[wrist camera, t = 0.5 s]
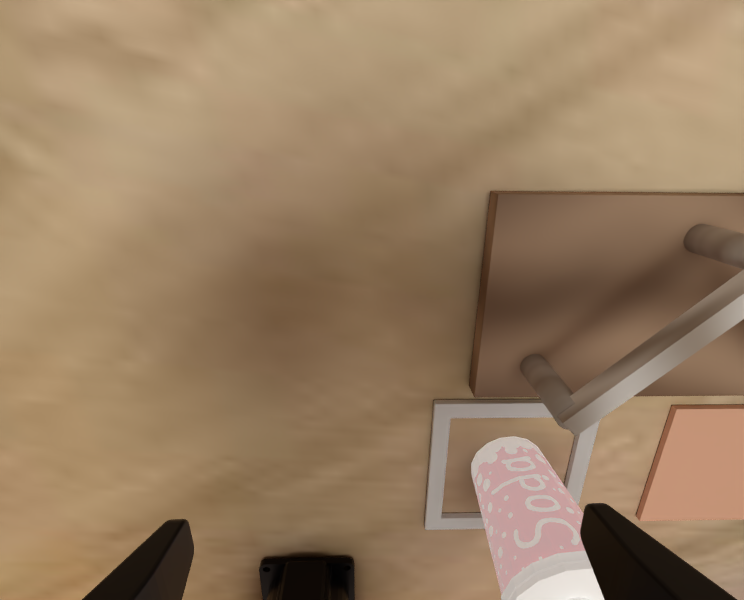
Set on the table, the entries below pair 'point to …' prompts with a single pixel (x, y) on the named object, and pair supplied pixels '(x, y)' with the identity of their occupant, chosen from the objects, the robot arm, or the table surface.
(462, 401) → the frame
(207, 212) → the table surface
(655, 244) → the wire board
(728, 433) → the end mat
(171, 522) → the robot arm
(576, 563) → the beverage cup
